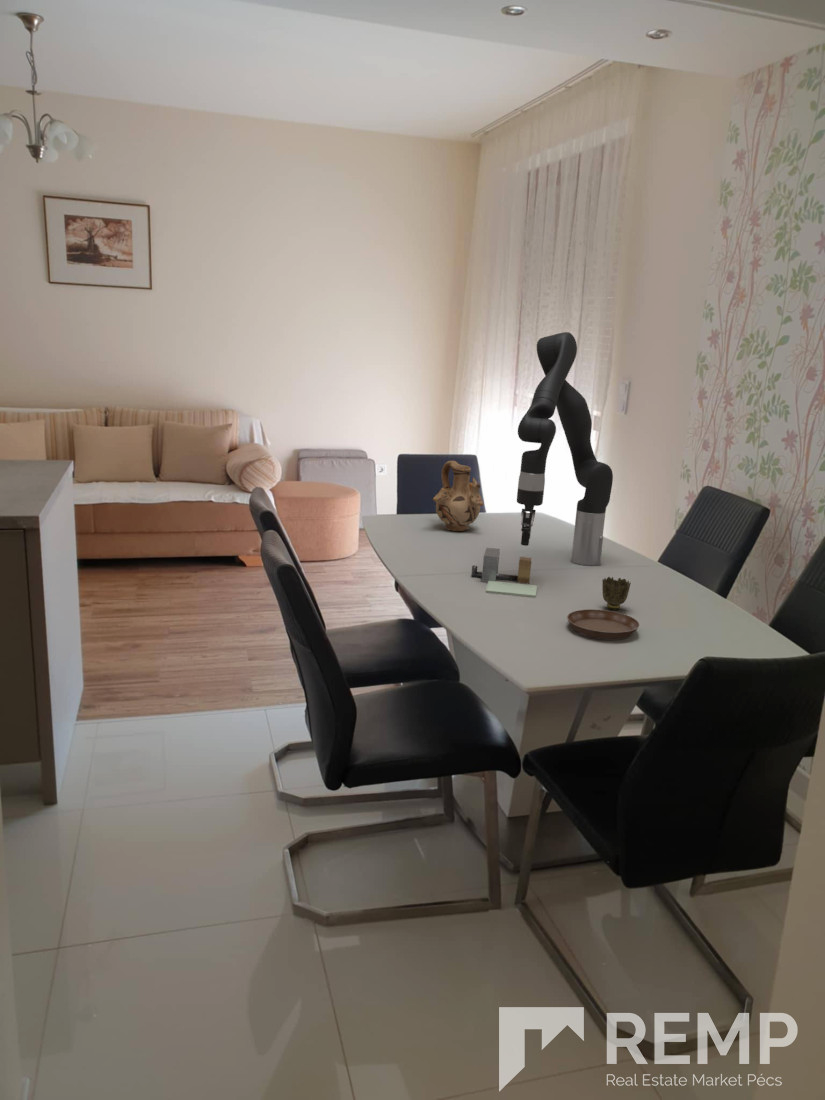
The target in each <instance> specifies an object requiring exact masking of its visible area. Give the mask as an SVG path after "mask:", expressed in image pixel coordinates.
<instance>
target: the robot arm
mask: <svg viewBox="0 0 825 1100" xmlns="http://www.w3.org/2000/svg"><path fill="white" fill-rule="evenodd" d="M577 352H578V345H577V341H576V338H575V337H574V335H573V334H572V333H570V332H567V331H564V332H560V333H555V334H551V335H548V336H544V337H542V338H541V337H540V338H539V339H538V340H537V342H536V354H537V358H538V361H539V363H540V366H541V368H542V372H543V373H544V377H543V378H542V379H541V381H540V382H539V383H538V385H537V386H536V387H535V390H534V393H533V396H532V400H531V404H530V406H529V408H528V410H527V412H525V414H524V415H523V416H522V417H521V420H520V422H519V424H518V426H517V435H518V438H519V439H520V440H521V441H522V442H525V443H533V444H540V446H539V448H537V449H534V450H533V449H532V450H526V451H524V452H523V453H522V455H521V460H520V461H521V463H520V472H519V476H518V484H517V492H516V493H517V494H516V503H517V504H519V505H522V506H524V508H522V509H521V514H520V517H521V518H520V519H521V521H520V525H521V529H520V531H521V540H520V545H521V546H524V547H525V546H526V547H527V546H529V545H530V539H531V532H532V527H534V520H535V516H536V509H534V508H535V507H537V506H542V505H543V502H544V493H545V485H546V475H545V474H546V468H547V467H546V466H547V459H548V454H549V450H550V449H551V446H552V443H553V441H554V439H555V436H556V434H557V427H556V424H555V421H554V420H552V419H551V418H552V417H553V416H554V414H555V411H556V410H557V414H558V418H559V420H560V424H561V427H562V429H563V431H564V435H565V439H566V441H567V444H568V448H569V450H570V454H571V459H572V465H573V469H574V474H575V478H576V480H577V481H576V482H577V483H578V484H579V485H581V487H583V488H585V491H584V496H583V498H582V499H579V500H578V501H577V503H576V513H575V519H574V520H575V521H574V531H573V540H572V548H571V557H570V558H571V559H570V562H572V563H574V564H577V565H581V566H601V560H602V559H601V558H602V552H603V543H604V529H605V520H606V511H607V507H608V505H609V504H610V500H611V495H612V494H611V493H612V487H613V479H614V474H613V470H612V468H611V466H610V465H608V464H607V463H604V462H602V461H599V460H597V457H596V455H595V453H594V450H593V447H592V442H591V436H592V426H593V424H592V415H591V413H590V408H589V405H588V403H587V400H586V398H585V397H584V396H583V395H582V394H581V393H580V392H579V391H578V390H577V389H576V388H574V386H572V385H571V384H570V383H569V382H568V381H567V380H566V379H567V377H568V375H569V374H570V371H571V369H572V366H573V364H574V362H575V359H576V357H577V354H578V353H577Z"/></svg>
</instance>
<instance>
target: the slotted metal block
mask: <svg viewBox="0 0 825 1100" xmlns="http://www.w3.org/2000/svg"><path fill="white" fill-rule="evenodd" d="M500 550H501V549H500V548H495V547H494V548H493V547H486V549H485V552H484V553H483V560H482V561H483V562H482V571H481V572H482V577H481V582H482V583H487V584H488V581H496V582H497V579H496V575H497V574H499V565H500V564H499V562H500V561H499V560H500Z"/></svg>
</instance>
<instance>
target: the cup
mask: <svg viewBox="0 0 825 1100" xmlns="http://www.w3.org/2000/svg"><path fill="white" fill-rule="evenodd" d="M601 582H602V584H601V585H602V588H601V589H602V597H603V600H604V602H605V603H606V608H607V609H608V610H610V611H617V610H620V609H621V605H622V604H624V603H625V602H626V600H627V599H628V596H629V592H630V588H631V582H630V581H629V580H627V579H625V578H621V577H619V578H617V579H615V578H614V577H613V576H612V577H611V576H608V577H604V578H602V581H601Z"/></svg>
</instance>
